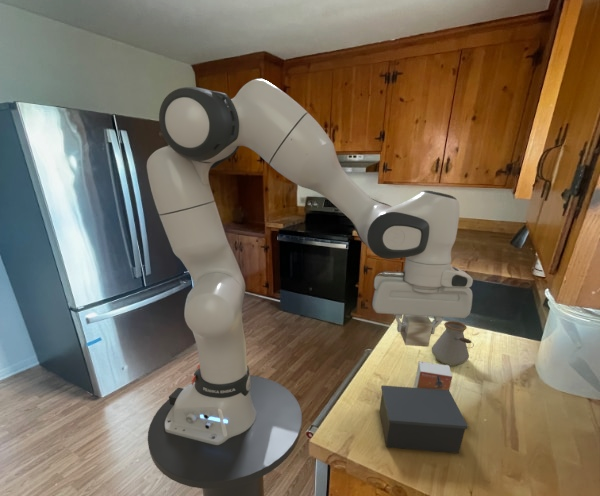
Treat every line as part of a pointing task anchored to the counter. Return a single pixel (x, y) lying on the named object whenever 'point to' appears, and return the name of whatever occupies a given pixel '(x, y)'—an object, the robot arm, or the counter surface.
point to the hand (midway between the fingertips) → (415, 332)
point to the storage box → (421, 419)
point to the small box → (433, 376)
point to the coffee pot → (452, 345)
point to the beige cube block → (416, 330)
